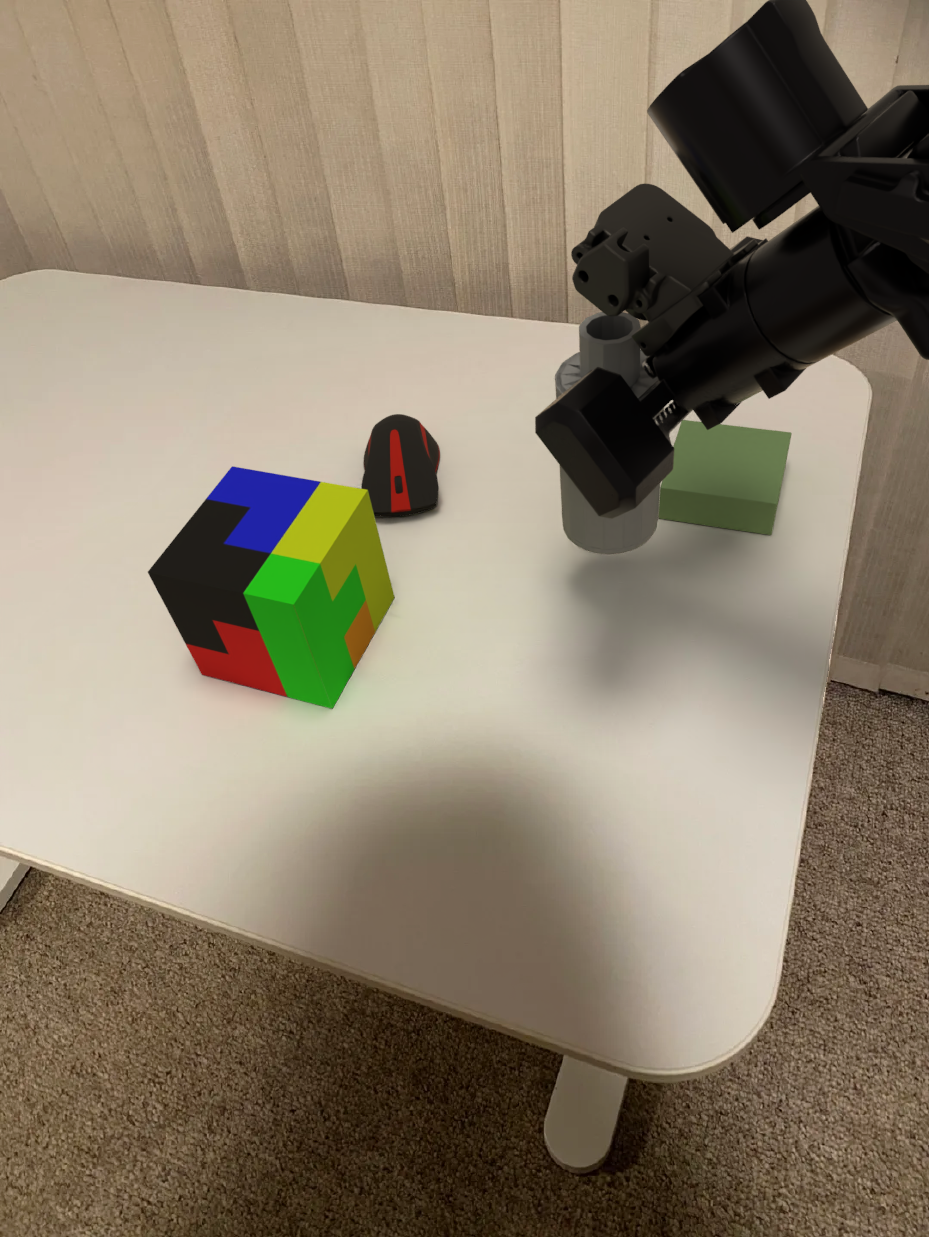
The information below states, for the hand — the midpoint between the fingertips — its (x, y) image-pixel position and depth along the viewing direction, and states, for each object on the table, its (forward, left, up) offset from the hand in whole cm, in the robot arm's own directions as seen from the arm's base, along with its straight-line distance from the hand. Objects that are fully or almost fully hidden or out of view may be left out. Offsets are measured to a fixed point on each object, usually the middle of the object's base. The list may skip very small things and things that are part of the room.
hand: (590, 426), depth 55 cm
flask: (-1, 0, -7) cm, 7 cm away
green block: (+1, -13, -13) cm, 18 cm away
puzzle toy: (+8, +19, -13) cm, 24 cm away
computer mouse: (+18, +5, -13) cm, 23 cm away
